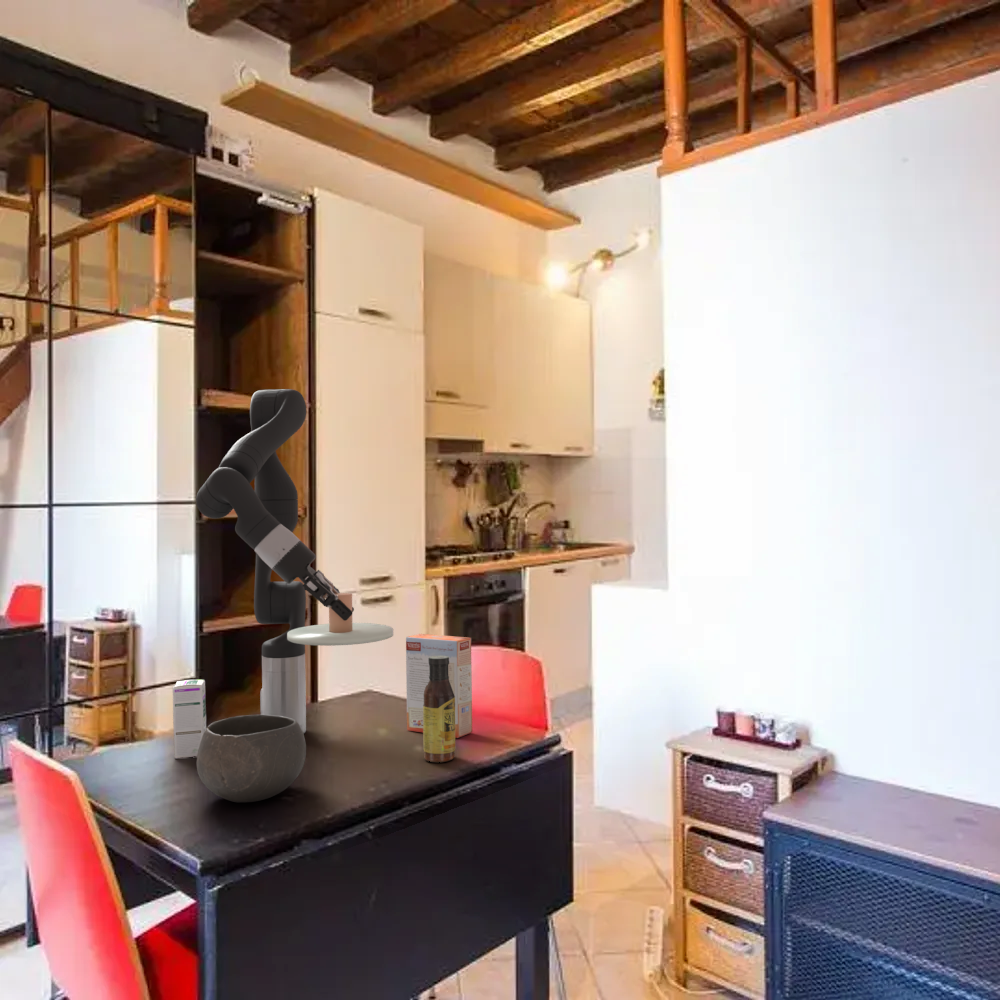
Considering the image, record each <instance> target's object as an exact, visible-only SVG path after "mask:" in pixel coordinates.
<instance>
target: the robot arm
mask: <svg viewBox="0 0 1000 1000" xmlns="http://www.w3.org/2000/svg"><path fill="white" fill-rule="evenodd" d="M249 405H250V406H249V418H250V421H249V422H250V428H251V429H250V430H251V431H250V432H249V433H247V434H245V435H244V436H242V437H241V438H239V439H238V440H237V441H236V442H235V443H234V444H233V445H232V446H231V448H230V449H229V450H228V451H227V453H226V454H225V456H224V457H223V458H222V459H221V462H220V464H219V466H218V467H217V468H216V469H215V470H214V471H212V473H211V474H210V475H209V477H208V478H207V479H206V481H205V482H204V483H203V485H202V486H201V487H200V488H199V490H198V492H197V494H196V498H195V502H196V503H195V504H196V507H197V509H198V511H199V512H200V513H201V514H202V515H203V516H205V517H206V518H209V519H214V520H216V519H223V518H225V517H227V516H228V515H229V514H230V513H231V512H232V511H234V512H235V514H236V516H237V520H236V523H235V527H234V531H235V533H236V534H237V536H238V537H240V538H241V540H243V541H244V542H245V543H246V544H247V546H249V548H251V549H253V550H254V552H255V568H254V569H255V571H254V574H255V576H254V591H253V597H254V598H253V609H254V617H255V620H256V621H257V623H259V624H260V625H280V624H283V625H284V624H289V629H287V630H286V631H285V632H283V633H282V634H281V635H278V636H276V637H274V638H270V639H268V640H266V641H264V642H263V643H262V645H261V683H262V686H261V687H262V688H261V689H260V694H259V696H260V698H259V699H260V700H259V701H260V702H259V703H260V715H275V716H284V717H288V718H292V719H294V720H296V721H297V722H298V724H299V725H300V727H301V729H302V732H303V734H306V732H307V717H306V716H307V703H306V702H307V701H306V700H307V695H306V694H307V693H306V691H307V690H306V689H307V688H306V687H307V686H306V678H307V677H306V645H305V644H297V643H293V642H290V641H288V640H287V633H288V632H289V631H291V630H293V629H296V628H300V627H306V610H307V609H306V607H307V595H306V594H307V593H306V591H307V592H308V593H309V594H310V595H311V596H313V597H314V598H315V599H316V600H317V601H318V602H320V603H321V604H322V606H324V607H326V608H328V609H329V608H331V609H332V610H333V611H334V612H335V613H337V614H338V615H339V616H340V617H341V618H342V619H343V620H344V621H346V620H347V619H348V618H349V617H350V616H351V615H352V616H353V612H354V611H355V607H354V606H352V611H351V610H350V609H349V608H348V607H347V606H346V605H345V604H344V603H343V602H342V601H341V600H340V599H339V598H338V596H337V595H335V593H341V592H340V590H339V588H337V587H336V586H335V585H334V584H333V582H331V580H329V578H327V577H326V575H325V574H324V573H323V571H321V570H320V569H318V570H315V569H314V568H313V567H311V564H312V563H313V562H314V561H315V559H316V558H317V555H316V554H315V553H314V551H312V550H311V549H310V548H309V547H308V546H307V545H306V544H304V542H303V541H302V540H301V539H300V538H299V537H297V536H296V534H294V533H293V532H294V531H295V528H297V524H298V521H299V505H298V504H299V501H298V499H299V497H298V495H299V494H298V490H297V487H296V485H295V483H294V481H293V479H292V478H291V476H290V475H289V474H288V471H287V470H286V468H285V467H284V466H283V464H282V462H281V460H280V458H279V456H278V454H277V451H278V449H279V448H280V447H282V446H283V445H284V444H285V443H286V442H287V441H288V440H289V439H290V438H291V437H292V436H293V435H294V434H296V433H297V432H298V431H299V430H300V429H301V427H303V425H304V422H305V420H306V416H307V405H306V401H305V398H304V396H303V394H302V393H301V392H300V391H299V390H295V389H291V388H285V389H284V388H283V389H282V388H281V389H279V388H278V389H259V390H257V391H255V392H254V393H253V394H252V396H251V400H250V403H249ZM252 481H254V488H253V486H252V485H251V483H252ZM272 571H274V573H275V574H277V576H279V577H280V578H281V579H282V580H283V581H271V579H272V578H271V576H272ZM297 578H298V579H299V580H300V581H299V580H297V581H295V580H296V579H297Z"/></svg>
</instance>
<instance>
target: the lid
mask: <svg viewBox="0 0 1000 1000" xmlns="http://www.w3.org/2000/svg"><path fill="white" fill-rule="evenodd" d="M335 595H337V596H338V598H339V599H340V600H341V601H342V602H343V603H344V604H345V605H346V606H347V607H348V608H349V609H350V610H351V611H352V607H353V593H351V592H340V593H335ZM328 619H329V620H328V623H323V624H314V625H313V624H312V625H307V626H306V625H305V627H300V628H296V629H293V630H291V631H289V632H288V633H287V640H288V641H290V642H293V643H297V644H305V646H307V645H309V646H323V647H324V646H326V647H327V646H329V647H330V646H331V647H332V646H335V647H336V646H350V645H352V646H353V645H363V644H370V643H377V642H380V641H384V640H388V639H391V638H392V637H394V628H393V627H392V626H390V625H386V624H380V623H371V622H370V623H369V622H353V614H352V615H351V616H350V617H349V618H348V619H347V620H346V621H344V620H343V619H342V618H341V617H340V616H339V615H338V614H337V613H335V612H334V611H333V610H332V609H331V608H329V607H328Z"/></svg>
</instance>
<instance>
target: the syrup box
mask: <svg viewBox="0 0 1000 1000" xmlns="http://www.w3.org/2000/svg"><path fill="white" fill-rule="evenodd" d="M171 689H172V716H173V717H172V718H173V719H172V720H173V722H172V723H173V725H172V726H173V755H174V759H181V758H180V757H191V756H197V754H198V749H199V745H200V742H201V739H202V736H203V734H204V732H205V730H206V728H207V707H206V705H207V704H206V698H207V697H206V680H205V679H185V680H177V681H176V683H175V684H174V685H173V686H172V688H171Z"/></svg>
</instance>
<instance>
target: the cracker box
mask: <svg viewBox="0 0 1000 1000" xmlns="http://www.w3.org/2000/svg"><path fill="white" fill-rule="evenodd" d="M431 656H448V657H449V665H448V676H449V682H450V684H451V687H452V690H453V693H454V696H455V739H460V738H463V737H464V736H466V735H469V734H472V733H473V691H472V690H473V684H472V683H473V681H472V679H473V677H472V672H473V671H472V637H468V636H467V637H466V636H465V637H464V636H452V635H443V634H441V635H440V634H431V633H430V634H428V633H417V634H412V635H408V636H406V638H405V660H406V661H405V662H406V663H405V664H406V665H405V668H406V671H405V673H406V683H405V684H406V730H407V731H409V732H417V733H421V734H423V705H424V690H425V687H426V686H427V685H428V682H429V681H430V679H429V676H430V670H429V657H431Z"/></svg>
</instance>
